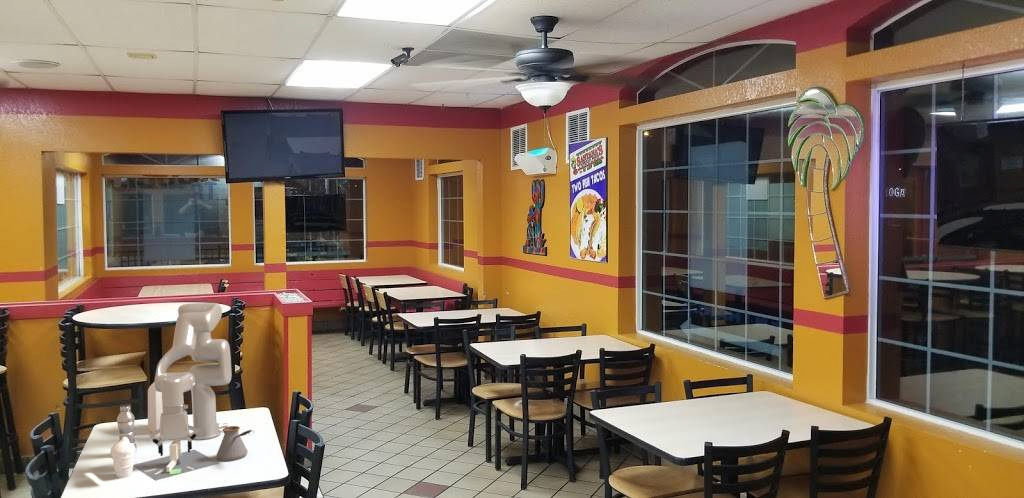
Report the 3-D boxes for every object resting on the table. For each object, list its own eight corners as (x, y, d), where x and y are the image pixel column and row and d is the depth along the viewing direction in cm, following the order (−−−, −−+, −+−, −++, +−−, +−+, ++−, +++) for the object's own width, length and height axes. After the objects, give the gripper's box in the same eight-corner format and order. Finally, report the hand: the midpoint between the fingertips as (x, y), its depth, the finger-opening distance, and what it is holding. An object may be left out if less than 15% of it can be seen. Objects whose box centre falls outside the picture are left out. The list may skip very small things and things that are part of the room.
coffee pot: (211, 461, 296) (209, 423, 295) (238, 453, 305) (236, 417, 304) (239, 473, 282) (237, 434, 281) (266, 464, 291) (265, 426, 290)
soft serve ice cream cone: (119, 485, 272) (117, 442, 271) (107, 481, 277) (104, 438, 276) (141, 477, 279) (139, 435, 278) (128, 474, 284) (126, 432, 283)
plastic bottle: (129, 457, 303) (126, 408, 302) (114, 456, 304) (112, 407, 303) (140, 451, 309) (137, 404, 308) (126, 451, 311) (123, 403, 309)
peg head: (175, 460, 292) (174, 440, 291) (181, 460, 292) (180, 439, 292) (164, 472, 279) (163, 451, 279) (171, 472, 279) (170, 450, 279)
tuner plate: (194, 453, 306) (194, 448, 306) (220, 466, 289) (220, 462, 289) (132, 468, 289) (131, 464, 289) (155, 484, 272) (155, 479, 272)
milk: (147, 429, 341) (144, 372, 340) (174, 423, 349) (171, 368, 347) (156, 434, 332) (153, 376, 331) (183, 429, 340) (180, 372, 339)
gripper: (197, 404, 295) (199, 447, 296) (149, 409, 288) (151, 453, 289) (197, 409, 288) (199, 452, 289) (147, 414, 281) (150, 459, 282)
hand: (175, 453), depth 289 cm, fingers open, 9 cm apart
